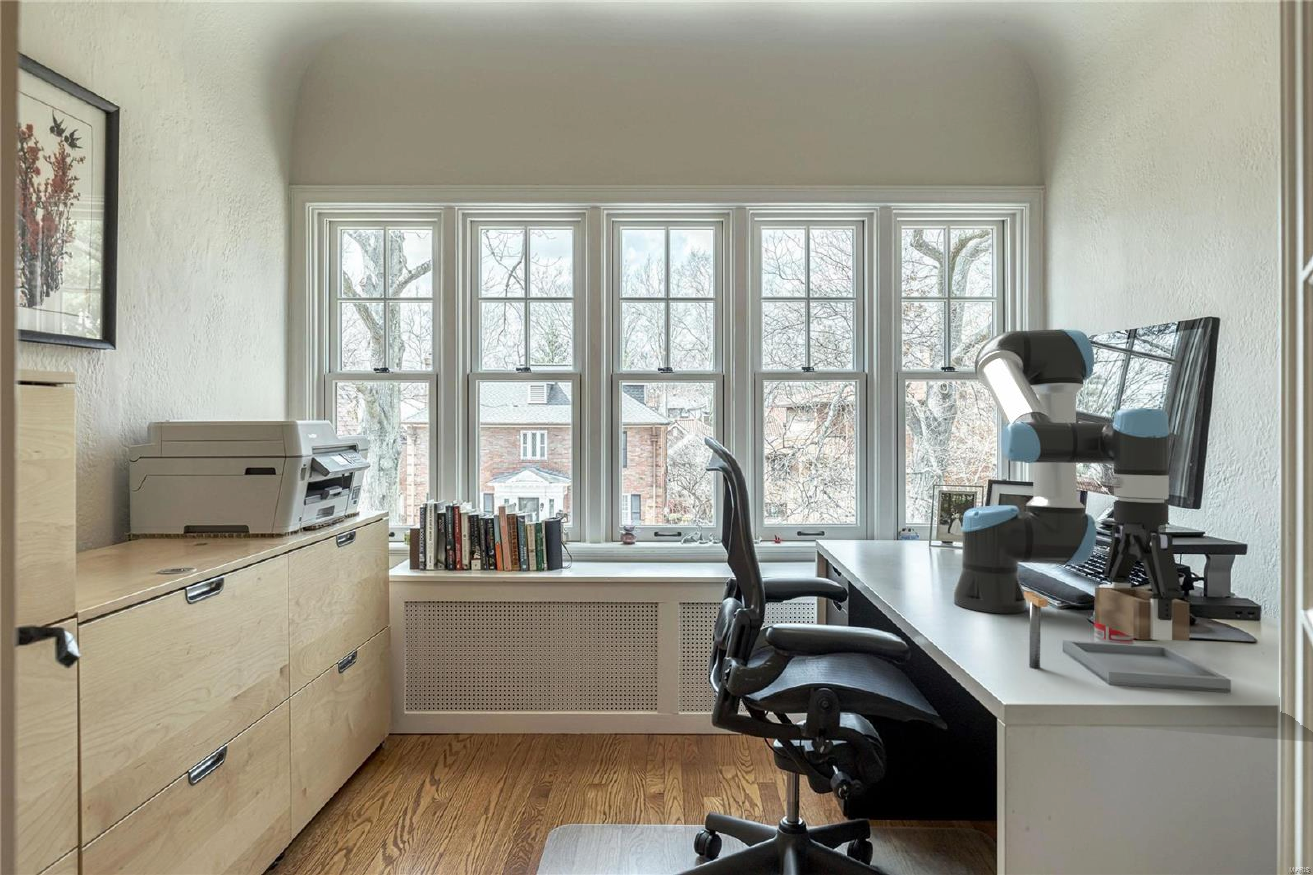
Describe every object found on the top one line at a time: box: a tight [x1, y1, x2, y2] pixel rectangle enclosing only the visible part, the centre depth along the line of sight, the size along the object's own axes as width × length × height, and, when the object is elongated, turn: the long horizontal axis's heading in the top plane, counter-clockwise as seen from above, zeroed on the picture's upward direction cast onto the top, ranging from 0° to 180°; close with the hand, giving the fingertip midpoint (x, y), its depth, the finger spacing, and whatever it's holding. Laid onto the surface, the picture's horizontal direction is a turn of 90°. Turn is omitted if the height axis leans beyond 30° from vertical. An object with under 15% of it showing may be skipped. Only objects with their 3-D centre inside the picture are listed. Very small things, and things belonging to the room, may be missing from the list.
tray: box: [1062, 639, 1232, 693], centre depth 112 cm, size 17×17×2 cm
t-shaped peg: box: [1023, 590, 1048, 669], centre depth 113 cm, size 6×2×12 cm, turn 170°
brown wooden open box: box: [1094, 586, 1190, 641], centre depth 112 cm, size 11×9×6 cm
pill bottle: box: [1093, 583, 1135, 644], centre depth 126 cm, size 6×6×11 cm
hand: (1140, 629), depth 112 cm, fingers closed on brown wooden open box, 12 cm apart
